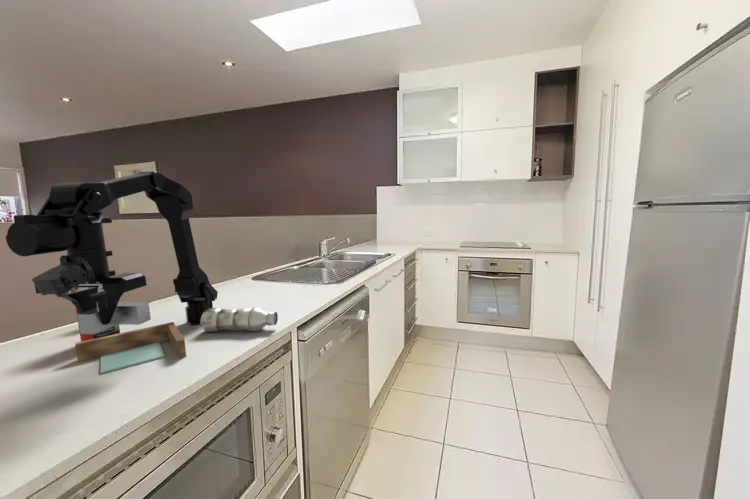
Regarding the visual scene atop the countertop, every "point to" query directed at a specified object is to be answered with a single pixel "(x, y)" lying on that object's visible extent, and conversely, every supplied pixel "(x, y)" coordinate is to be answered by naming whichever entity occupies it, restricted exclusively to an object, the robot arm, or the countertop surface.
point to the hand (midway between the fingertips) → (99, 324)
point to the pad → (130, 357)
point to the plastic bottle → (237, 319)
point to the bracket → (114, 317)
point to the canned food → (103, 333)
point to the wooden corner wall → (131, 341)
